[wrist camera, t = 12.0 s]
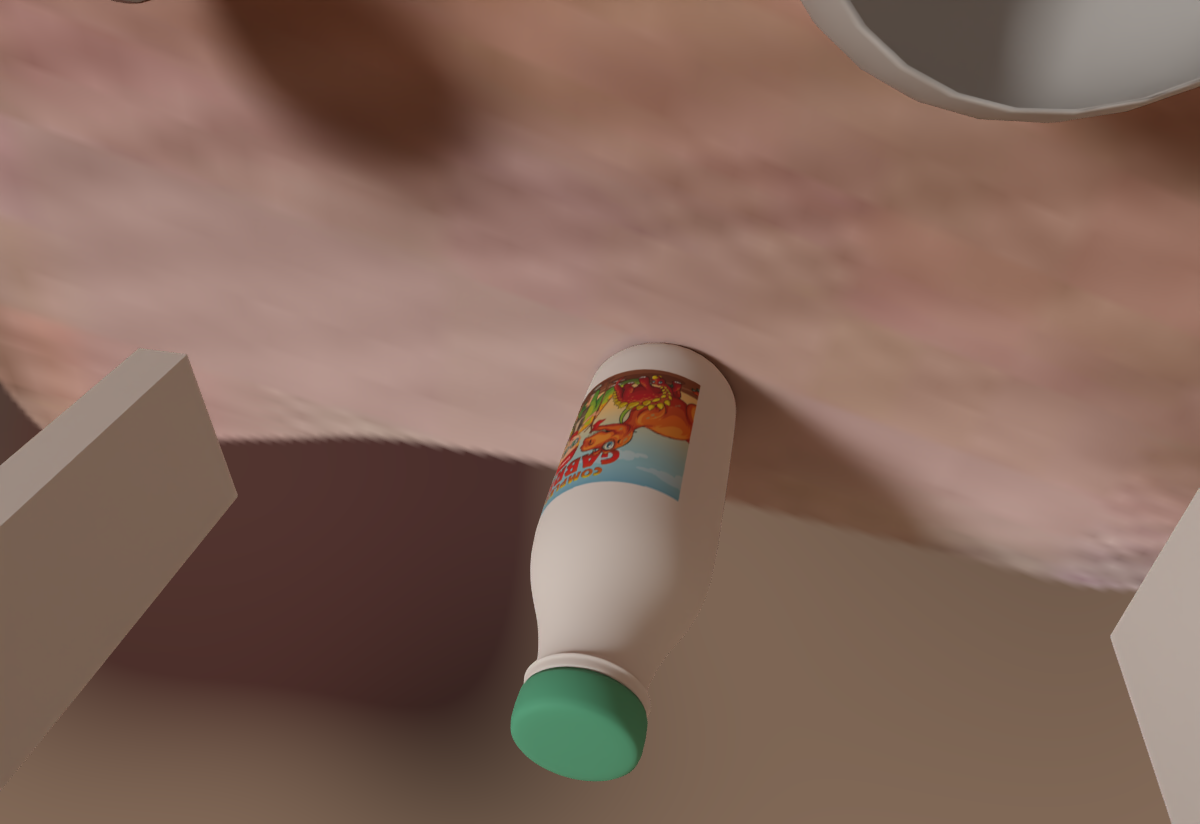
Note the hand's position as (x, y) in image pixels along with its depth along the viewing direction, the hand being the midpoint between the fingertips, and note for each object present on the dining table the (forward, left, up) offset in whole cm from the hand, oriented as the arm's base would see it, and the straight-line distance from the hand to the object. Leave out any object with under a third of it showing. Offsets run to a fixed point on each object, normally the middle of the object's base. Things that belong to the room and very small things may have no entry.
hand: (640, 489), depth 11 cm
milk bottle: (+18, -2, -27) cm, 32 cm away
